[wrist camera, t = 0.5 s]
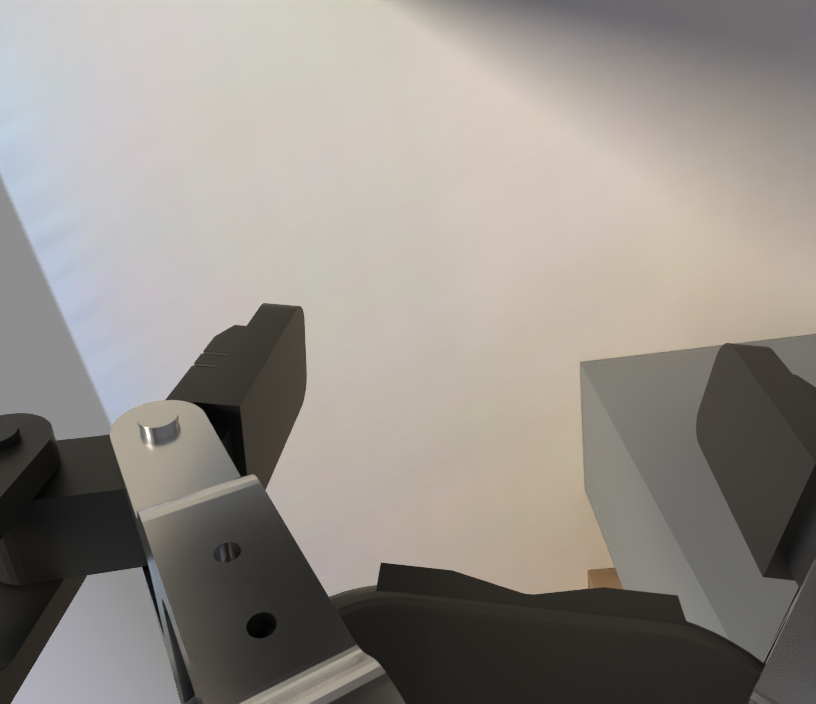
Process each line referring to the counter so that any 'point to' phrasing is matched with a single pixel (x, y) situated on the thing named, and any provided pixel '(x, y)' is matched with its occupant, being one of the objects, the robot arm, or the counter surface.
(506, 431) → the counter surface
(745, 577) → the block
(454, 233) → the counter surface
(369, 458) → the counter surface
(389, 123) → the counter surface
